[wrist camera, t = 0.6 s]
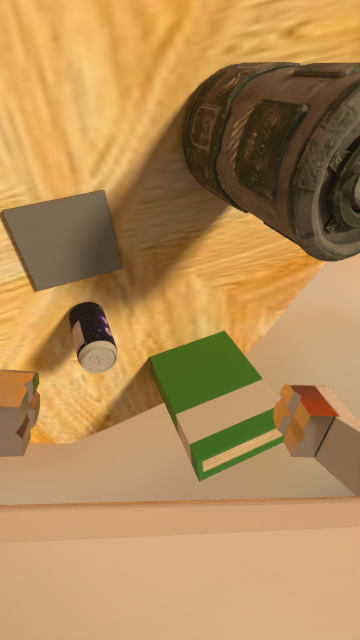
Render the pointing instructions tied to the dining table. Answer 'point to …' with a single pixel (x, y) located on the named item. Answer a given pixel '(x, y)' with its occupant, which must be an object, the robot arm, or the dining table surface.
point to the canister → (283, 149)
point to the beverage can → (92, 337)
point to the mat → (65, 238)
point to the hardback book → (216, 403)
